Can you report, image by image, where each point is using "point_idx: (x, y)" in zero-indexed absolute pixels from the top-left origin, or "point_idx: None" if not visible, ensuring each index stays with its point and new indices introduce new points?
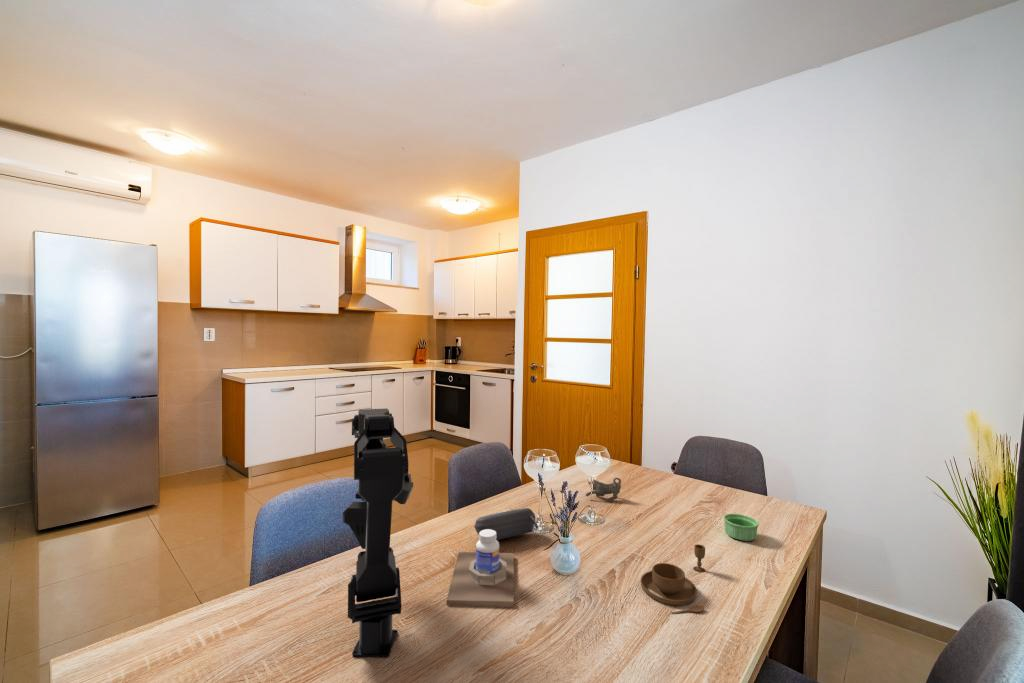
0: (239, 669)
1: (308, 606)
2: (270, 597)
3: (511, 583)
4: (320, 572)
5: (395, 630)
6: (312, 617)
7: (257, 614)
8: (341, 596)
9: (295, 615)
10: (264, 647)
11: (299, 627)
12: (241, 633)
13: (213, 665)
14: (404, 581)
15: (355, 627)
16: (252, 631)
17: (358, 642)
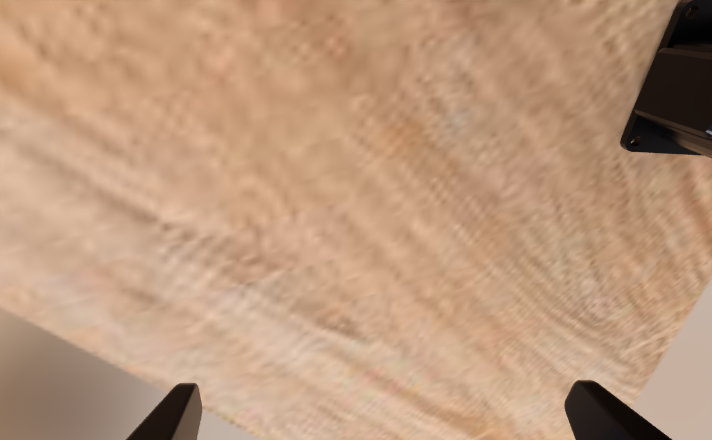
0: (635, 379)
1: (421, 344)
2: (368, 430)
3: None
4: (231, 377)
5: (686, 12)
6: (479, 318)
7: (440, 425)
8: (376, 278)
9: (460, 357)
10: (577, 368)
11: (518, 331)
12: (508, 422)
13: None
14: (260, 50)
15: (568, 184)
16: (506, 409)
17: (690, 150)
